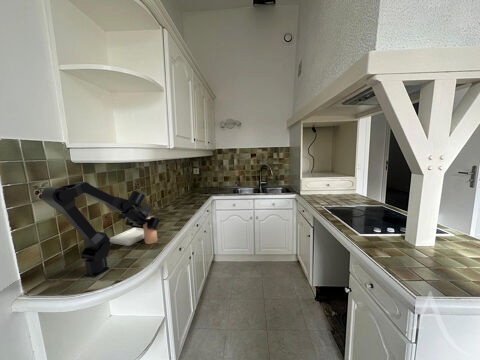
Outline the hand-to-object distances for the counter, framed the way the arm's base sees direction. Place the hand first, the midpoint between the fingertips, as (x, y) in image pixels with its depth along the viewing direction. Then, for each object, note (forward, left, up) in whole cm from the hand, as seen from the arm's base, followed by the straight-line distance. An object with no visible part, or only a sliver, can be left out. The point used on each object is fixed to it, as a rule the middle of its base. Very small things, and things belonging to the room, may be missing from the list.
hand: (151, 228), depth 113 cm
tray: (0, +14, -7) cm, 16 cm away
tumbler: (-1, 0, -7) cm, 7 cm away
